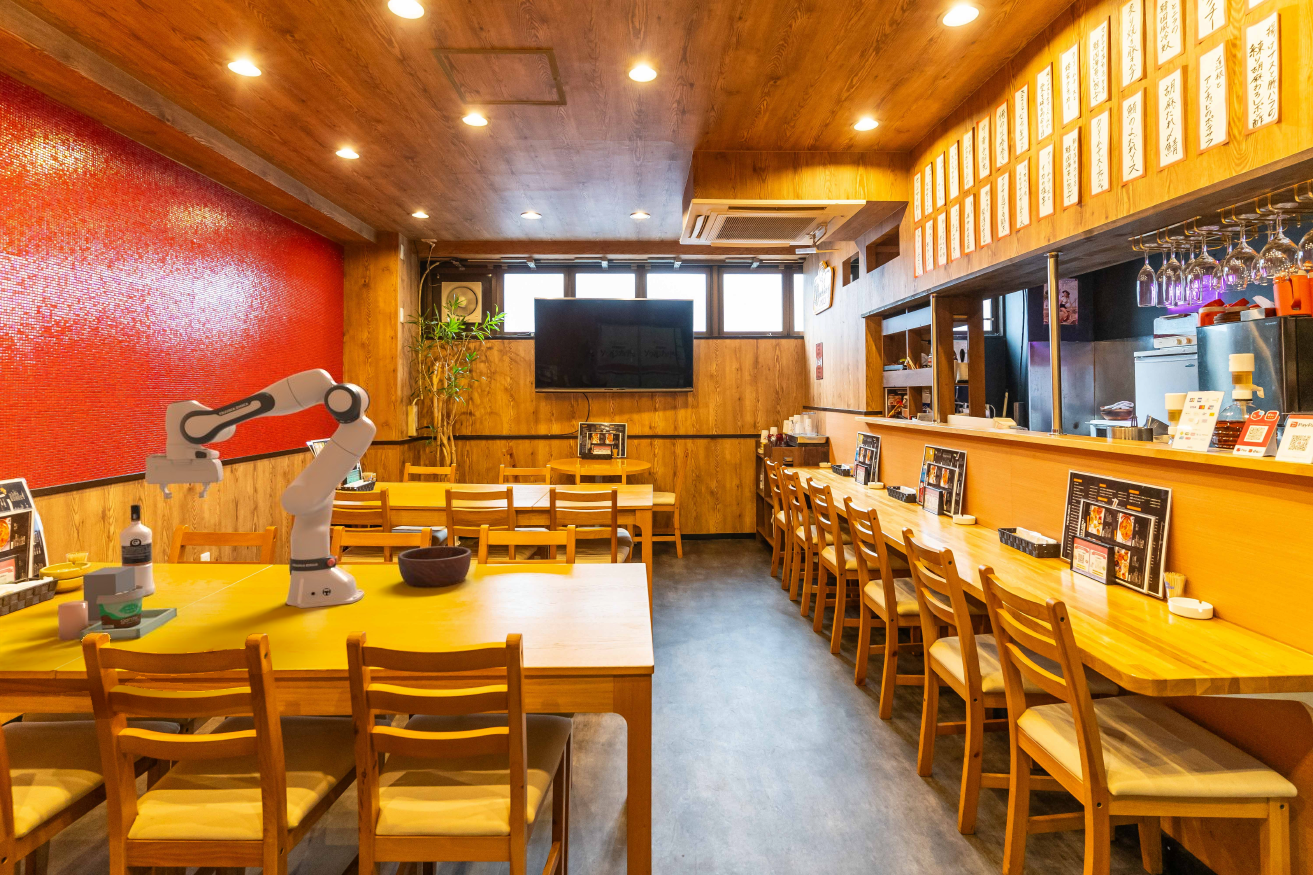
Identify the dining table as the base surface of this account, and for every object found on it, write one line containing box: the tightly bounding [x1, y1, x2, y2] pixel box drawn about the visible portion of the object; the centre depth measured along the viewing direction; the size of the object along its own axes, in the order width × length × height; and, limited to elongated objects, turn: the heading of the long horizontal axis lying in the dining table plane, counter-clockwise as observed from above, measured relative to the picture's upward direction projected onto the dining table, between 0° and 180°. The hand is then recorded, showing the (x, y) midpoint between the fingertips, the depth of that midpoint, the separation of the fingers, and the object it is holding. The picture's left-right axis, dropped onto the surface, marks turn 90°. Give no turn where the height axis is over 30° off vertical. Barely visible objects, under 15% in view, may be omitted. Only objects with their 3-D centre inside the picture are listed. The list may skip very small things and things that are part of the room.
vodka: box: [119, 503, 156, 597], centre depth 222 cm, size 9×9×30 cm
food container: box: [96, 585, 145, 630], centre depth 187 cm, size 12×6×10 cm, turn 170°
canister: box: [57, 600, 89, 642], centre depth 181 cm, size 6×6×9 cm
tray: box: [78, 607, 178, 643], centre depth 188 cm, size 14×20×2 cm
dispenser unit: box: [82, 566, 135, 626], centre depth 197 cm, size 10×12×14 cm
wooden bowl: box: [397, 545, 472, 588], centre depth 241 cm, size 25×25×10 cm
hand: (185, 498), depth 207 cm, fingers open, 8 cm apart
